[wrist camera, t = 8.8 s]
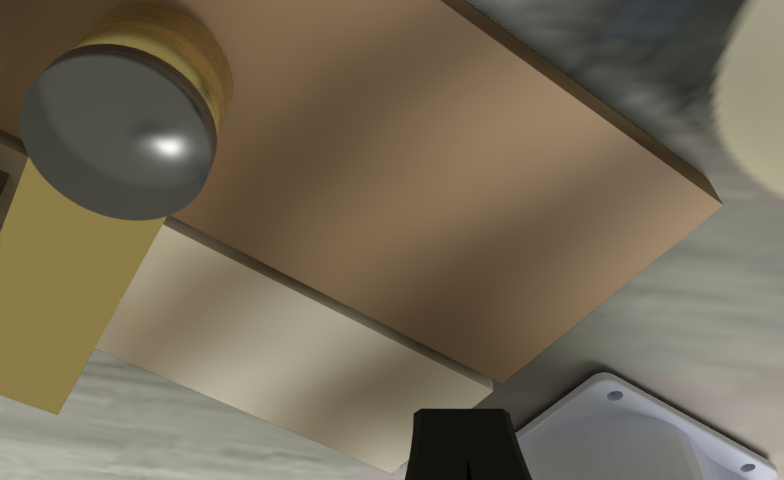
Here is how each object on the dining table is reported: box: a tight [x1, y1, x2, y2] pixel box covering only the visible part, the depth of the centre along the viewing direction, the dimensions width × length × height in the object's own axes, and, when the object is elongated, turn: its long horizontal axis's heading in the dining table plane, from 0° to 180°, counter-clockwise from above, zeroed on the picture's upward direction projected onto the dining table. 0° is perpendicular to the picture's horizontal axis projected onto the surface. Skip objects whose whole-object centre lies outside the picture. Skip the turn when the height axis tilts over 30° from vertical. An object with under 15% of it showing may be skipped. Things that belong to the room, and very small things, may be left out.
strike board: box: [0, 0, 723, 473], centre depth 19 cm, size 18×15×4 cm
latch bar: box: [0, 3, 233, 415], centre depth 17 cm, size 12×4×3 cm, turn 147°
